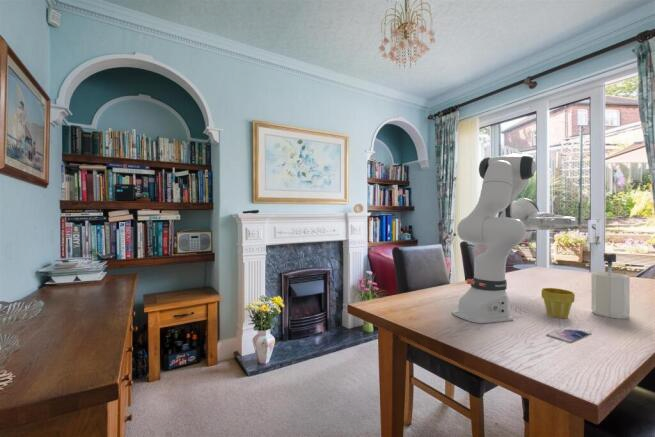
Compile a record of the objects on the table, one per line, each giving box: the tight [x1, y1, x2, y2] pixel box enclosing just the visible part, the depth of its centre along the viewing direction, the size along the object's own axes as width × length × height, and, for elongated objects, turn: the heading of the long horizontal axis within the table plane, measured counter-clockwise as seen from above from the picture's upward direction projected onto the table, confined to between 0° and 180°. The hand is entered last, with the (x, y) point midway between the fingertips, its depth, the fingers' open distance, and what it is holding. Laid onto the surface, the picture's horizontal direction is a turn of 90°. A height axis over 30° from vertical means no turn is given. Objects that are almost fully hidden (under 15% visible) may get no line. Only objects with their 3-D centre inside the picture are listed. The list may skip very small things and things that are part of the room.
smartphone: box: [545, 326, 593, 344], centre depth 98 cm, size 7×1×15 cm
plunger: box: [603, 252, 617, 276], centre depth 118 cm, size 8×8×22 cm
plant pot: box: [541, 287, 575, 319], centre depth 117 cm, size 10×10×10 cm
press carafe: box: [590, 271, 631, 320], centre depth 119 cm, size 13×10×16 cm
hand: (563, 221), depth 135 cm, fingers open, 8 cm apart
